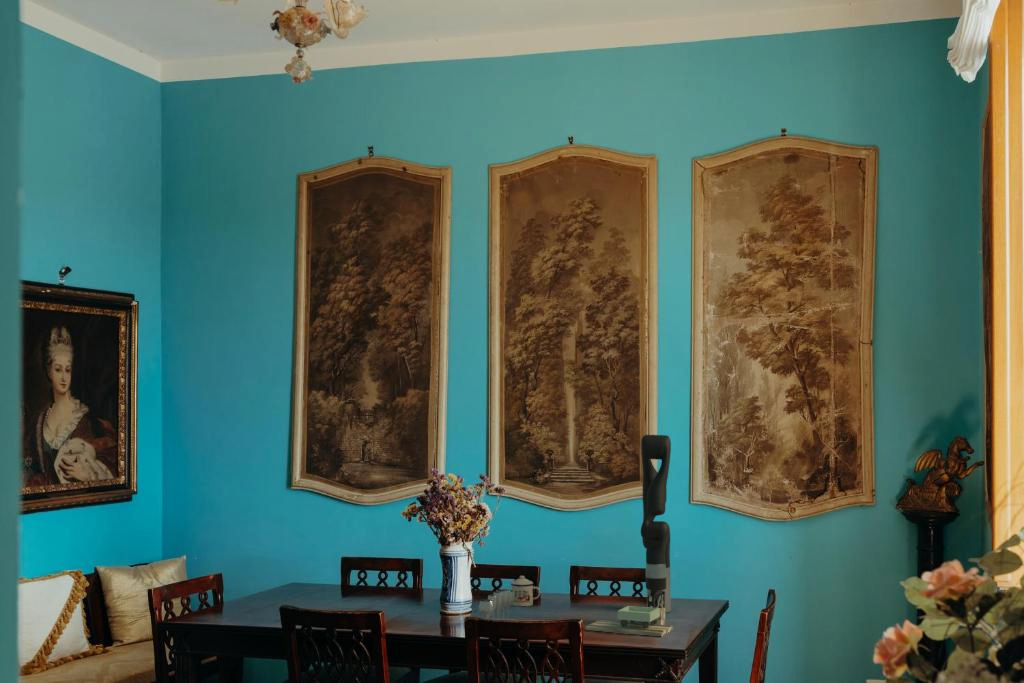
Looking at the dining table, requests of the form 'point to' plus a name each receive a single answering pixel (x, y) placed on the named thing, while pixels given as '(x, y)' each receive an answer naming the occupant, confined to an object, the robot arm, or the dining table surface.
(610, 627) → the rail board
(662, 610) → the cream block
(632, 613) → the dolly
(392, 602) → the dining table surface
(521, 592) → the teacup with lid
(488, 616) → the goblet set
